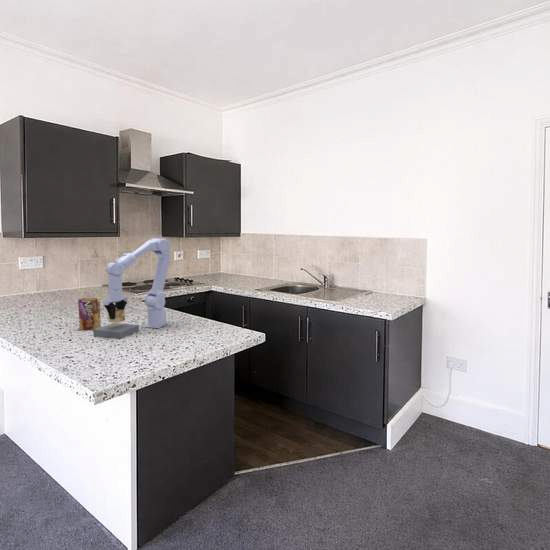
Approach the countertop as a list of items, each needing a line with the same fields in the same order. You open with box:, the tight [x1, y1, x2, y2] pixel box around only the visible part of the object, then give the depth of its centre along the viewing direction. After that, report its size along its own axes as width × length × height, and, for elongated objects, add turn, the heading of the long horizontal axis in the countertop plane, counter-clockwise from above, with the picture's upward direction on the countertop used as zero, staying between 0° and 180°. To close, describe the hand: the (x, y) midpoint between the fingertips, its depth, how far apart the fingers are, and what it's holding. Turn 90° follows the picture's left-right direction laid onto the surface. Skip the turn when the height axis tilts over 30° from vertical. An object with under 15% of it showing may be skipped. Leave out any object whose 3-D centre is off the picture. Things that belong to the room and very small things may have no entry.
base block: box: [92, 322, 140, 340], centre depth 182 cm, size 14×14×3 cm
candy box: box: [77, 296, 102, 331], centre depth 189 cm, size 9×4×15 cm, turn 100°
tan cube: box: [107, 308, 126, 323], centre depth 181 cm, size 5×5×5 cm
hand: (116, 317), depth 181 cm, fingers closed on tan cube, 5 cm apart
